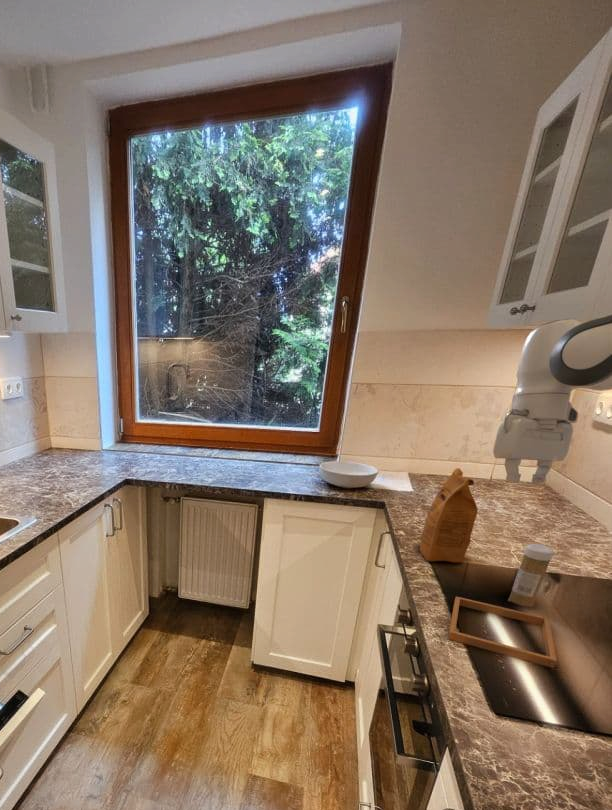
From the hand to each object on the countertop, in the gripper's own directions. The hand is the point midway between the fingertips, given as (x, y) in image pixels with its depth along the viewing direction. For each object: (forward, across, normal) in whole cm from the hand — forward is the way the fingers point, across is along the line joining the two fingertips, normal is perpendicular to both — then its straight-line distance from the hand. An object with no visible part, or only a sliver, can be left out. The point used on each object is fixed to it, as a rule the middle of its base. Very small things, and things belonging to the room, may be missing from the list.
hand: (525, 483), depth 95 cm
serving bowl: (+5, +36, +79) cm, 87 cm away
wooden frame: (+29, -13, -6) cm, 32 cm away
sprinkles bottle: (+26, +3, -2) cm, 26 cm away
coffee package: (+20, +11, +22) cm, 32 cm away
